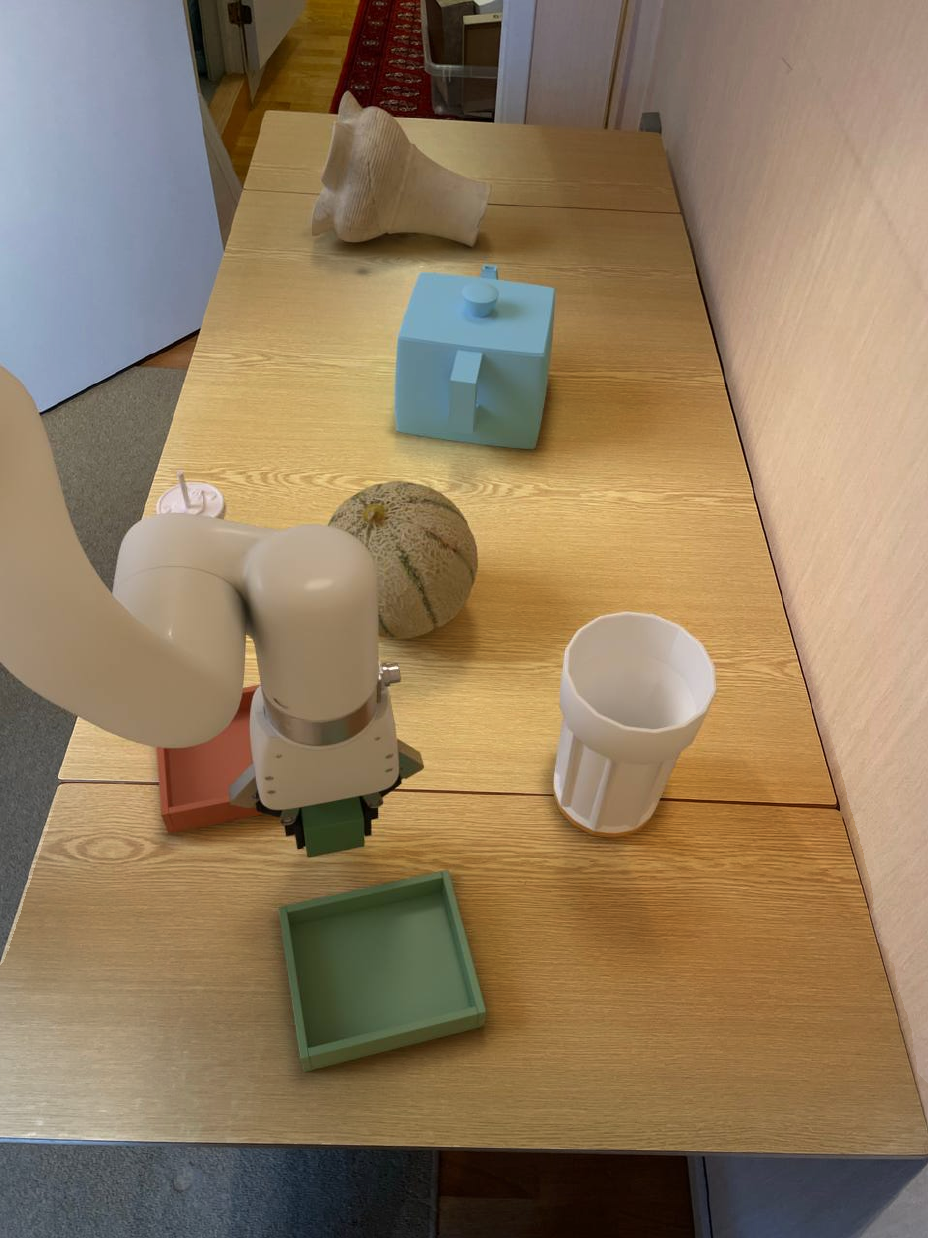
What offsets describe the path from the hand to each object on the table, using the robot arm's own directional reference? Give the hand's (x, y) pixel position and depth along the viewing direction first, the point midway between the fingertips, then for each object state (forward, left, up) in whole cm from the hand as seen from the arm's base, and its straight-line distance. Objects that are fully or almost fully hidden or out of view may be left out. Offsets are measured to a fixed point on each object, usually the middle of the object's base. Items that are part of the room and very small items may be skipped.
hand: (331, 825), depth 78 cm
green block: (0, 0, 0) cm, 0 cm away
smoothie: (-7, +33, -4) cm, 34 cm away
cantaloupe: (+11, +24, -4) cm, 26 cm away
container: (+27, +55, -4) cm, 61 cm away
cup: (+24, 0, -4) cm, 24 cm away
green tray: (+2, -11, -4) cm, 12 cm away
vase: (+27, +93, -4) cm, 97 cm away
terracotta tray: (-7, +10, -4) cm, 13 cm away
